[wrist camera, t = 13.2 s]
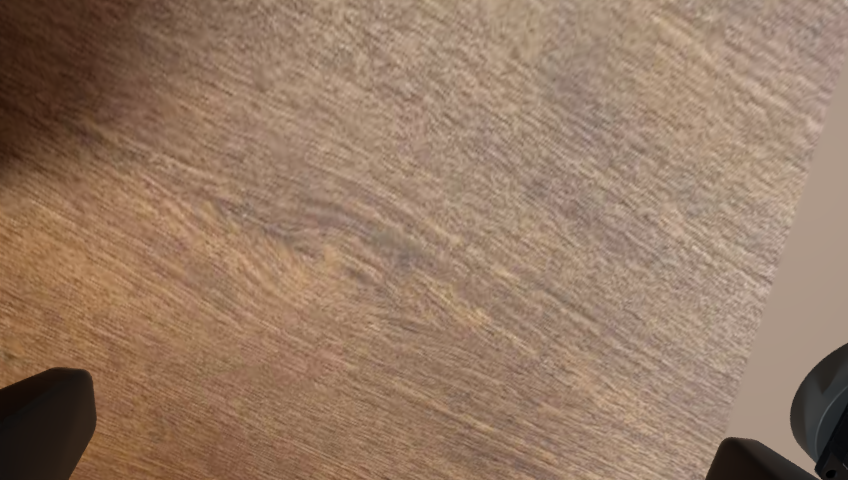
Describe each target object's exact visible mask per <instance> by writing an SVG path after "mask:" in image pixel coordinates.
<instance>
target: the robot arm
mask: <svg viewBox="0 0 848 480" xmlns="http://www.w3.org/2000/svg"><path fill="white" fill-rule="evenodd" d="M96 420H97V416H96V407H95V398H94V389H93V381H92V376H91V375H90V373H89V372H88V371H86V370H84V369H76V368H67V367H54V368H51V369H48V370H46V371H44V372H41V373H39V374H36V375H34V376H31V377H29V378H26V379H24V380H22V381H19V382H17V383H14V384H12V385H9V386H7V387H4V388H2V389H0V480H69V478H70V476H71V474H72V472H73V471H74V469H75V467H76V465H77V463H78V461H79V460H80V458H81V456H82V454H83V452H84V451H85V449H86V447H87V445H88V443H89V441H90V440H91V438H92V436H93V433H94V431H95V427H96ZM814 470H815V473H816V474H817V475H818V476H819V477H820V478H821V479H822V480H848V403H847V405H846V407H845V409H844V411H843V413H842V415H841V417H840V419H839V421H838V423H837V425H836V427H835V429H834V431H833V432H832V434H831V436H830V438H829V440H828V442H827V444H826V446H825V448H824V450H823V452H822V454H821V456H820V458H819V460H818V461H817V463H816V465H815V468H814ZM705 480H819V479H818V478H816V477H814V476H813V475H811V474H810V473H808V472H806V471H805V470H803V469H802V468H800V467H799V466H797V465H795V464H794V463H792V462H791V461H789V460H787V459H786V458H784V457H783V456H781V455H779V454H778V453H776V452H775V451H773V450H772V449H770V448H768V447H767V446H765V445H764V444H762V443H760V442H759V441H756V440H753V439H745V438H736V437H729V438H726V439H724V440H723V441H722V442H721V444H720V446H719V448H718V450H717V453H716V455H715V457H714V460H713V462H712V464H711V467H710V469H709V471H708V474H707V476H706V479H705Z"/></svg>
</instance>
